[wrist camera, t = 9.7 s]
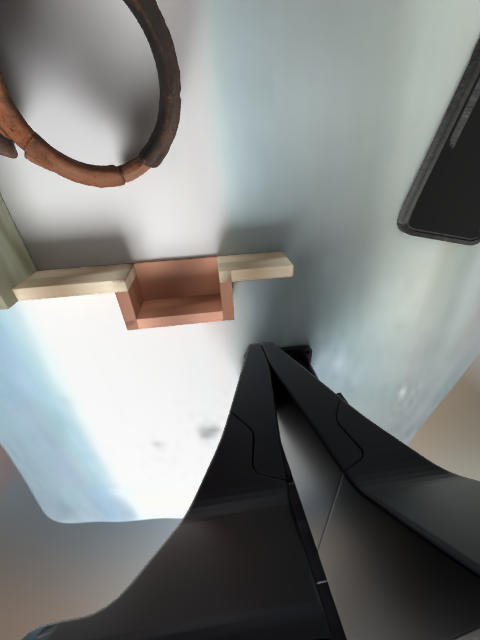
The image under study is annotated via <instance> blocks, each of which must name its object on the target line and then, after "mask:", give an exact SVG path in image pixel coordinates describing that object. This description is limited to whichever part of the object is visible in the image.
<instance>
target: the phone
mask: <svg viewBox="0 0 480 640" xmlns="http://www.w3.org/2000/svg"><path fill="white" fill-rule="evenodd" d="M397 226H398V229H399V230H400V231H401V232H404V233H406V234H409V235H412V236H418V237H424V238H430V239H435V240H441V241H447V242H453V243H458V244H464V245H475V244H478V243H479V242H480V41H479V43H478V45H477V47H476V49H475V51H474V54H473V56H472V58H471V60H470V62H469V64H468V67H467V69H466V71H465V73H464V75H463V77H462V80H461V82H460V84H459V86H458V88H457V90H456V92H455V95H454V97H453V99H452V101H451V103H450V105H449V108H448V110H447V112H446V114H445V116H444V118H443V121H442V123H441V125H440V127H439V129H438V131H437V134H436V136H435V138H434V140H433V142H432V144H431V147H430V149H429V151H428V153H427V155H426V157H425V160H424V162H423V164H422V166H421V168H420V170H419V173H418V175H417V177H416V179H415V181H414V183H413V186H412V188H411V190H410V192H409V194H408V196H407V199H406V201H405V203H404V205H403V207H402V209H401V211H400V214H399V216H398V219H397Z"/></svg>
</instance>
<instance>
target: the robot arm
mask: <svg viewBox="0 0 480 640" xmlns="http://www.w3.org/2000/svg"><path fill="white" fill-rule="evenodd" d="M306 350H308V351H306ZM305 351H306V352H305ZM311 356H312V349H311V347H310V346H308V345H305V346H296V347H287V348H279V347H278V346H276V345H275V344H274V343H272V342H267V343H262V344H259V343H258V344H250V345H249V346H248V350H247V353H246V354H245V356H244V364H243V367H242V371H241V374H240V378H239V381H238V384H237V388H236V391H235V395H234V398H233V402H232V405H231V409H230V412H229V413H230V414H229V415H228V418H227V422H226V425H225V428H224V431H223V434H222V437H221V440H220V442H219V444H218V447H217V449H216V452H215V454H214V456H213V459H212V461H211V463H210V465H209V467H208V469H207V472H206V474H205V476H204V478H203V480H202V483H201V485H200V487H199V489H198V491H197V494H196V496H195V498H194V500H193V502H192V504H191V506H190V508H189V509H188V511H187V513H186V515H185V516H184V518H183V519H182V521H181V522H180V524H179V525H178V526H177V527H176V529H175V530H174V531H173V532H172V534H171V535H170V536H169V537H168V539H167V540H166V541H165V542H164V543H163V544H162V546H161V547H160V548H159V549H158V551H157V552H156V553H155V554H154V555H153V557H152V558H151V559H150V560H149V562H148V563H147V564H146V565H145V566H144V568H143V569H142V570H141V572H140V573H139V574H138V575H137V576H136V577H135V579H134V580H133V581H132V582H131V584H130V585H129V586H128V587H127V588H126V589H125V590H124V591H123V592H122V594H121V595H120V596H119V597H117V598H116V599H115V600H114V601H112V602H111V603H110V604H109V605H107V606H106V607H104V608H102V609H100V610H99V611H97V612H95V613H93V614H90V615H87V616H84V617H79V618H74V619H69V620H63V621H59V622H55V623H50V624H47V625H44V626H41V627H39V628H36V629H35V630H32V631H31V632H29V633H28V634H27V635H26V636H24V637H23V638H22V639H21V640H480V481H477V480H473V479H469V478H466V477H462V476H459V475H456V474H454V473H451V472H449V471H447V470H445V469H443V468H441V467H439V466H437V465H436V464H434V463H432V462H431V461H429V460H427V459H426V458H424V457H423V456H421V455H420V454H418V453H417V452H416V451H414V450H413V449H411V448H409V447H408V446H407V445H405V444H404V443H402V442H401V441H399V440H398V439H396V438H395V437H393V436H392V435H390V434H389V433H387V432H386V431H384V430H383V429H382V428H380V427H379V426H377V425H376V424H374V423H373V422H372V421H370V420H369V419H367V418H366V417H365V416H363V415H362V414H361V413H359V412H358V411H357V410H356V409H354V408H353V407H352V406H350V405H349V404H348V402H347V401H346V400H345V398H344V397H343V396H342V394H341V393H337V394H336V393H334V392H333V391H332V390H331V389H329V388H328V387H327V386H326V385H324V384H323V383H322V382H321V381H320V380H319V379H318V377H317V375H316V373H315V371H314V370H313V368H312V366H311V364H310V363H311Z"/></svg>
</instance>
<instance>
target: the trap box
mask: <svg viewBox="0 0 480 640" xmlns="http://www.w3.org/2000/svg"><path fill="white" fill-rule="evenodd" d="M293 267H294V265H293V264H292V263H291V261H290V260H289V259H288V258H287V257H286V255H285V254H284V253H283V252H282V251H278V252H265V253H253V254H241V255H228V256H216V257H204V258H191V259H179V260H167V261H154V262H142V263H130V264H117V265H105V266H93V267H80V268H68V269H56V270H43V271H37V269H36V267H35V265H34V263H33V261H32V259H31V257H30V255H29V253H28V251H27V249H26V247H25V245H24V243H23V240H22V238H21V236H20V234H19V232H18V230H17V228H16V226H15V224H14V222H13V220H12V218H11V216H10V214H9V212H8V210H7V208H6V205H5V203H4V201H3V199H2V197H1V195H0V310H1V309H9V308H10V307H11V306H13V305H14V304H15V303H16V302H18V301H23V300H34V299H45V298H57V297H68V296H79V295H90V294H101V293H112V292H115V294H116V297H117V300H118V303H119V306H120V309H121V312H122V315H123V318H124V321H125V324H126V327H127V330H135V329H145V328H155V327H165V326H174V325H184V324H194V323H204V322H214V321H224V320H234V309H233V293H232V282H235V281H246V280H258V279H269V278H280V277H291V276H293Z"/></svg>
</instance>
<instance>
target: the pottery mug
mask: <svg viewBox="0 0 480 640" xmlns="http://www.w3.org/2000/svg"><path fill="white" fill-rule="evenodd" d="M123 1H124V2H125V4H126V5H127V6H128V7H129V9H130V10H131V12H132V13H133V15H134V16H135V18H136V19H137V21H138V23H139V24H140V26H141V28H142V29H143V31H144V34H145V35H146V38H147V40H148V42H149V44H150V47H151V50H152V53H153V56H154V59H155V62H156V67H157V71H158V77H159V86H160V100H159V111H158V117H157V122H156V125H155V128H154V131H153V132H152V134H151V136H150V138H149V140H148V142H147V143H146V145H145V146H144V148H143V149H142V150H141V151H140V153H139V156H137V157H136V158H135V159H133V160H131V161H129V162H127V163H125V164H123V165H120V166H115V165H108V166H98V165H90V164H86V163H82V162H79V161H77V160H74V159H72V158H70V157H68V156H66V155H64V154H62V153H61V152H59V151H57V150H56V149H55V148H53V147H52V146H50V145H49V144H48V143H47V142H46V141H45V140H44V139H43V138H41V137H40V136H39V135H38V134H37V133H36V132H34V131H33V130H32V128H31V127H30V126H29V125H28V124H27V122H26V121H25V119H24V118H23V117H22V115H21V114H20V112H19V110H18V109H17V107H16V106H15V104H14V102H13V100H12V99H11V97H10V95H9V93H8V91H7V89H6V87H5V84H4V81H3V78H2V75H1V72H0V155H3V156H6V157H10V158H17V156H18V153H17V150H16V148H15V146H14V143H16V144H17V145H18V146H19V147H20V148H21V149H23V150H24V151H25V158H26V159H28V160H29V161H31V162H33V163H35V164H37V165H39V166H41V167H43V168H45V169H48V170H50V171H53V172H55V173H57V174H59V175H61V176H63V177H65V178H67V179H70V180H71V181H74V182H77V183H81V184H85V185H88V186H96V187H100V188H104V187H115V186H121V185H124V184H125V182H130V181H132V180H134V179H136V178H138V177H139V176H141V175H142V174H144V173H145V172H146V171H147V170H148V169H150V168H155V167H158V166H159V165H160V164H161V162H162V161H163V159H164V158H165V156H166V155H167V153H168V151H169V149H170V146H171V144H172V142H173V140H174V138H175V135H176V132H177V128H178V124H179V120H180V108H181V99H180V91H181V85H180V70H179V67H178V62H177V57H176V53H175V48H174V44H173V41H172V38H171V35H170V32H169V30H168V27H167V25H166V23H165V20H164V18H163V16H162V14H161V12H160V10H159V8H158V5H157V2H156V0H123Z"/></svg>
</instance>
